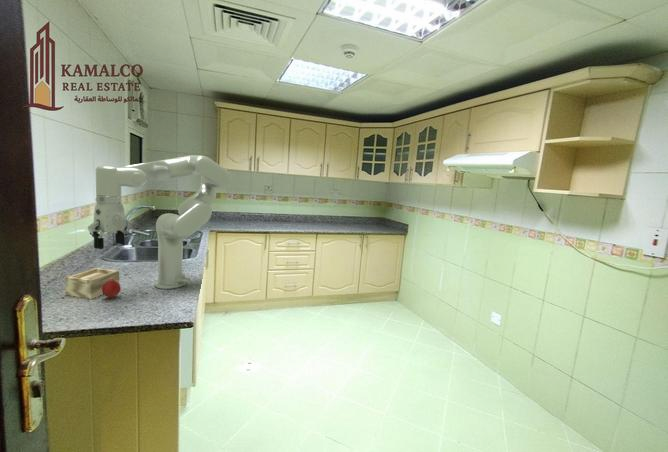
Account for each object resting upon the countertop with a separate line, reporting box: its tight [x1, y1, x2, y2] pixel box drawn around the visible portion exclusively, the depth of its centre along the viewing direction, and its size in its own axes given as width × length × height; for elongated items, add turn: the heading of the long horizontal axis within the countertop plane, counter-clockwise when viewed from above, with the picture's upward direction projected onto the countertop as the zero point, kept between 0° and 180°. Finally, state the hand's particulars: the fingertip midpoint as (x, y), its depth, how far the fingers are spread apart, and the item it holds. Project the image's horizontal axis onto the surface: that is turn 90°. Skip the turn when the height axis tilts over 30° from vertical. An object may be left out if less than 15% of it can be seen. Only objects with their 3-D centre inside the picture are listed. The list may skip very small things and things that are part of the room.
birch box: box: [64, 267, 120, 300], centre depth 125 cm, size 11×13×8 cm
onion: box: [102, 278, 121, 299], centre depth 120 cm, size 6×6×8 cm
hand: (109, 245), depth 118 cm, fingers open, 9 cm apart
